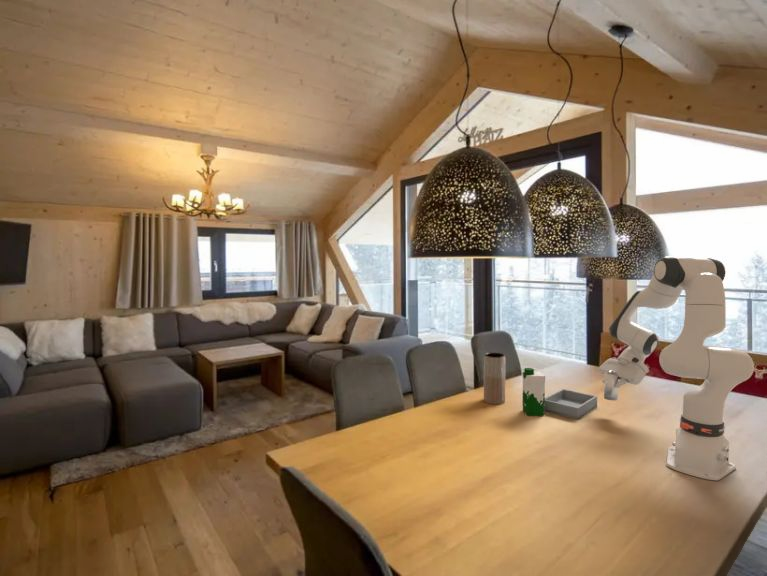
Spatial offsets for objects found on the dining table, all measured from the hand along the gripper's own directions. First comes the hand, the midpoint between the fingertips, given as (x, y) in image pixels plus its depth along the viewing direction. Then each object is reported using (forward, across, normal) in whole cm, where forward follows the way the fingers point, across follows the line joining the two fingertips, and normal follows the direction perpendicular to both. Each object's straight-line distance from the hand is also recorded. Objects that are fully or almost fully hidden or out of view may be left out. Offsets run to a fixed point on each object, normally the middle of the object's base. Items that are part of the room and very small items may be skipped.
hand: (609, 385), depth 187 cm
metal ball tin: (+4, 0, +5) cm, 6 cm away
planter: (+37, -31, -17) cm, 51 cm away
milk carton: (+31, -12, -11) cm, 35 cm away
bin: (+17, -12, +2) cm, 21 cm away
